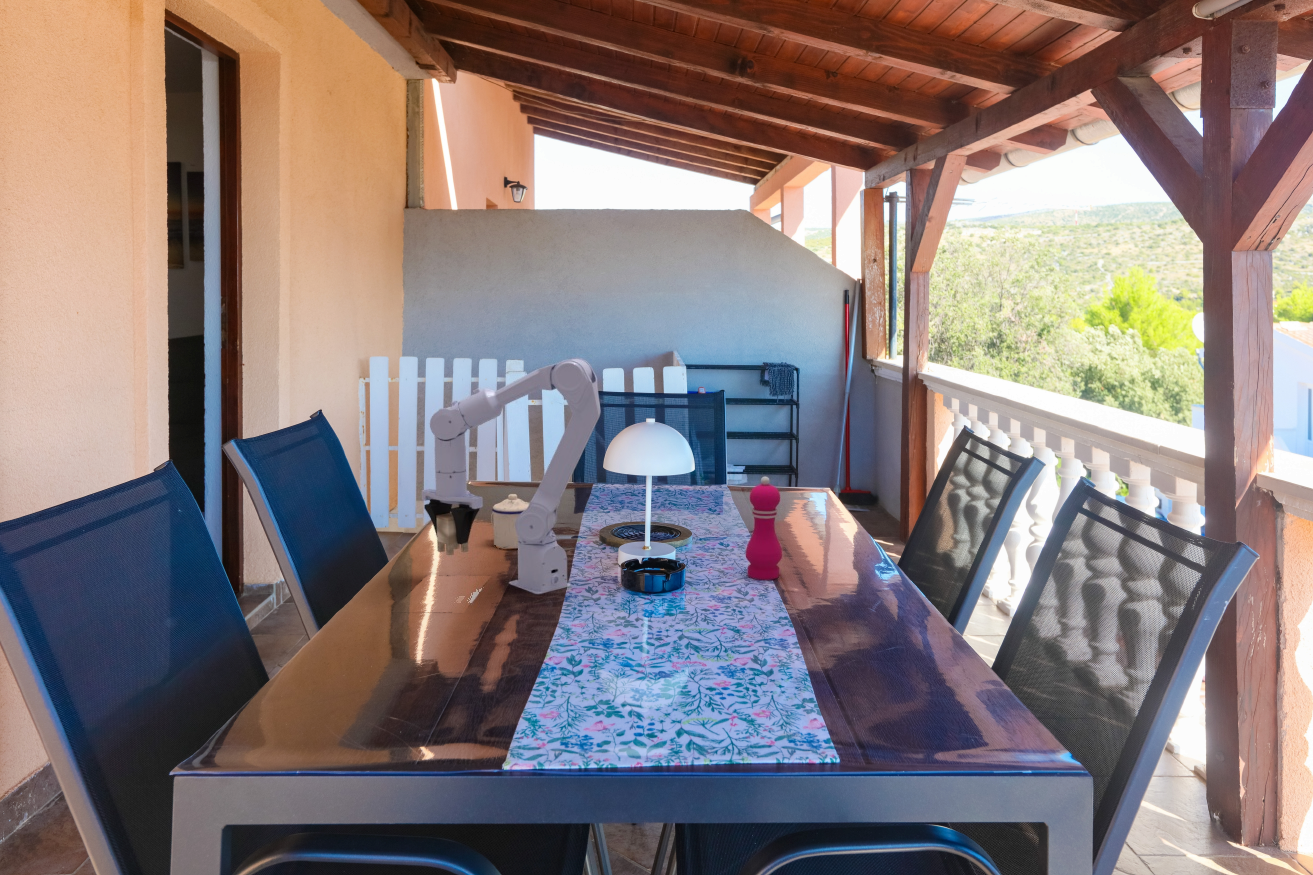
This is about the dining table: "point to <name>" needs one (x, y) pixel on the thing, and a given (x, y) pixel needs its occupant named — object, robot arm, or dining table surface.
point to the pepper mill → (764, 533)
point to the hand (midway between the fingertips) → (452, 541)
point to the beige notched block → (448, 535)
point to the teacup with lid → (507, 521)
